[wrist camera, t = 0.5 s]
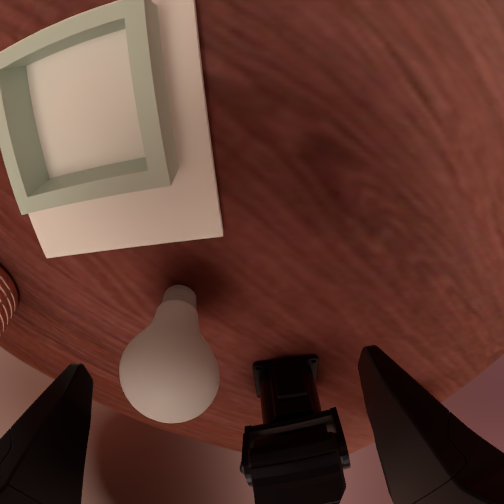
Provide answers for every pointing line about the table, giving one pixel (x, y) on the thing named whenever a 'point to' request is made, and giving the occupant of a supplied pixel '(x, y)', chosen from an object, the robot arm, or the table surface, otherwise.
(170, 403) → the lightbulb
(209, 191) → the tray
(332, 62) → the table surface
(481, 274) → the table surface
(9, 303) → the water bottle
